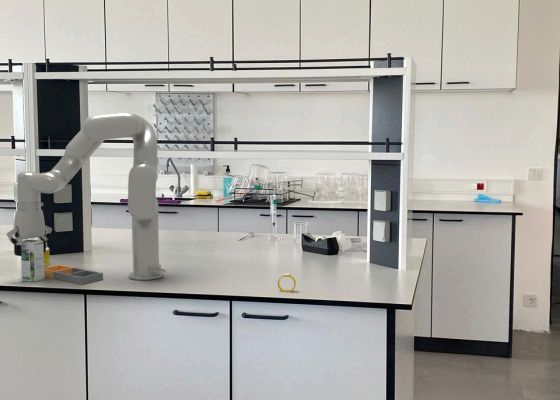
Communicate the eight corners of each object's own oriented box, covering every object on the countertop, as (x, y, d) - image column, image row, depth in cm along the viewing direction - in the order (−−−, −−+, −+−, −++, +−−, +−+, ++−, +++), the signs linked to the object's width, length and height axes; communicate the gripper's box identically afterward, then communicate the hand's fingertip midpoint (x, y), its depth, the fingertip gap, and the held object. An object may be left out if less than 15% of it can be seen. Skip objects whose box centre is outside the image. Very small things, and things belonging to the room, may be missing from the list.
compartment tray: (103, 279, 224) (102, 273, 224) (82, 284, 217) (81, 277, 217) (60, 270, 239) (59, 264, 239) (39, 275, 232) (38, 268, 232)
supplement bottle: (51, 267, 246) (50, 241, 245) (48, 270, 241) (46, 244, 240) (37, 267, 246) (36, 242, 245) (33, 270, 240) (31, 244, 239)
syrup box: (21, 280, 223) (19, 241, 222) (34, 277, 229) (32, 238, 227) (32, 282, 221) (30, 242, 219) (45, 279, 226) (43, 239, 225)
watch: (277, 292, 206) (276, 275, 206) (279, 290, 209) (277, 273, 208) (295, 292, 205) (294, 274, 204) (296, 290, 208) (295, 272, 207)
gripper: (44, 203, 231) (45, 249, 233) (0, 207, 217) (2, 255, 219) (56, 205, 227) (57, 251, 228) (12, 209, 213) (14, 258, 214)
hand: (30, 253), depth 224 cm, fingers open, 9 cm apart
